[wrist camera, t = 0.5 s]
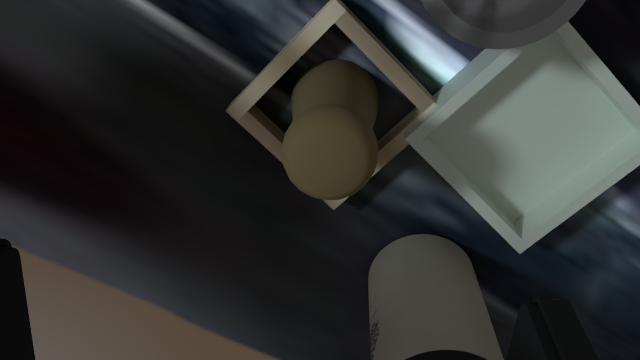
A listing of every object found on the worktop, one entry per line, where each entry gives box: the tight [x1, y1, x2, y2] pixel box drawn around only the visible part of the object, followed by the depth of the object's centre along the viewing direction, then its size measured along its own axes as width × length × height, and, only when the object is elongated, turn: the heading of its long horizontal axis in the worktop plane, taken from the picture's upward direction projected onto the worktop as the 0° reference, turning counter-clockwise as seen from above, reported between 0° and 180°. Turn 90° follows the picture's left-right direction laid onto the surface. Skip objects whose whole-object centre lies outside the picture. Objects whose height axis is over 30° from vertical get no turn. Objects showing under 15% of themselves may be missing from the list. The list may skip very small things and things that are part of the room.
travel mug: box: [368, 234, 504, 360], centre depth 38 cm, size 8×8×18 cm
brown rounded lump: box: [281, 59, 380, 200], centre depth 36 cm, size 6×6×11 cm
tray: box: [404, 22, 640, 254], centre depth 40 cm, size 12×12×3 cm
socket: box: [226, 0, 436, 210], centre depth 40 cm, size 10×10×2 cm
